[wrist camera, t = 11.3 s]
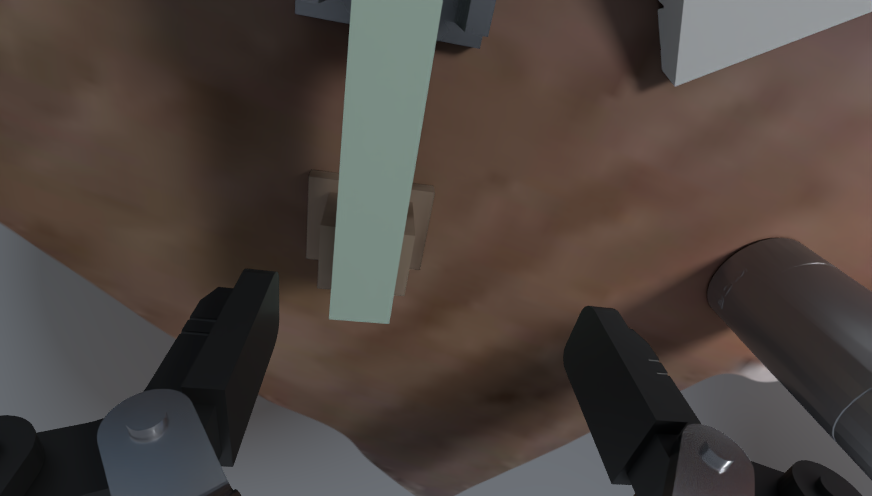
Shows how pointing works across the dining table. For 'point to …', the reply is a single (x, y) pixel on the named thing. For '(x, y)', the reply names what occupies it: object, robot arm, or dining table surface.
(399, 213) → the green rail
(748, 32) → the decorative molding
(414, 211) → the post
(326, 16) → the cup bracket
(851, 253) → the dining table surface
